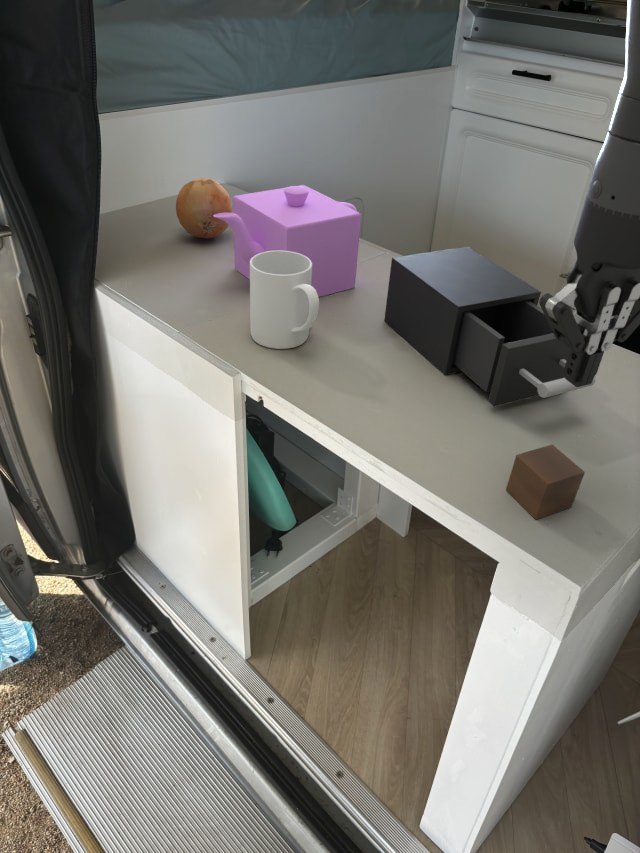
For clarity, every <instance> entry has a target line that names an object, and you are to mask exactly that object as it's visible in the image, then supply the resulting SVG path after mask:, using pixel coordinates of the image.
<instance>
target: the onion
mask: <svg viewBox="0 0 640 853" xmlns="http://www.w3.org/2000/svg"><path fill="white" fill-rule="evenodd" d="M175 213H176V216H177V219H178V222H179V224H180V225H181V227H182V228H183V229H184V230H185V231H186V232H187V233H188V234H190V235H191V236H194V237H196V238H197V239H213V238H216V237H218V236H220V235H221V234H222V233H224V232H225V231H226V230H227V229H228V228H229V227H230V226H229V224H227V223H226V222H225V221H223V220H221V219H219V218H216V217H214V216H213V215H215V214H218V213H233V201H232V199H231V196H230V194H229V193H228V191H227V190H226V189H225V188H224V187H223V186H222V185H221V184H220V183H218V182H217V181H216V180H214V179H212V178H207V177H200V178H197V179H194V180H191V181H189V182H187V183H185V184H184V185H183V186H182V187H181V188H180V190H179V192H178V194H177V196H176V200H175Z"/></svg>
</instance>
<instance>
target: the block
mask: <svg viewBox="0 0 640 853" xmlns="http://www.w3.org/2000/svg"><path fill="white" fill-rule="evenodd" d="M514 458H515V459H514V461H513V465H512V468H511V471H510V474H509V477H508V480H507V484H506V487H505V491H506V492H507V493H508V494H509V495H510V496H511V497H512V498H513V499H514V500H515V501H516V502H517V503H518V504H519V505H520V506H521V507H522V508H523V509H524V510H525V511H526V512H527V513H528V514H529V515H530V516H531V517H532V518H533V519H534V520H539V519H541V518H545V517H547V516H550V515H554V514H556V513H559V512H562V511H565V510H567V509H570V508H572V507H573V504H574V502H575V499H576V497H577V494H578V492H579V489H580V487H581V484H582V482H583V479H584V476H585V474H586V472H585V471H584V470H583V469H582V468H581V467H580V466H578V465H577V464H576V463H575V462H574V461H573V460H572V459H570V458H569V457H568V456H567V455H566V454H564V453H563V451H561V450H560V449H558V447H556V446H555V444H548V445H545V446H542V447H539V448H535V449H532V450H529V451H525V452H521V453H518V454H516V455H515V457H514Z"/></svg>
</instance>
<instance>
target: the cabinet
mask: <svg viewBox="0 0 640 853" xmlns="http://www.w3.org/2000/svg"><path fill="white" fill-rule="evenodd" d="M389 271H390V272H389V279H388V288H387V295H386V303H385V311H384V319H383V320H384V322H385V323H386V324H387V325H388V326H389V327H390V328H392V330H394V331H395V332H396V333H397V334H398V335H399V336H400V337H401V338H403V339H404V340H405V341H406V343H408V344H409V345H410V346H412V347H413V348H414V349H415V350H416V351H417V352H419V353H420V355H422V356H423V357H424V358H425V359H426V360H427V361H428V362H429V363H431V365H433V366H434V367H435V368H436V369H437V370H438V371H439V372H440V373H442V374H443V376H448V375H453V374H458V373H461V372H462V371H461V370H460V369H459V368H458V367H456V366H455V365H454V364H453V363H452V362H453V357H454V352H455V347H456V342H457V337H458V332H459V327H460V323H461V318H462V313H463V312H465V311H470V310H475V309H481V308H486V307H491V306H497V305H502V304H507V303H513V302H518V301H524V300H529V301H531V302H532V303H534V304H535V305H537V306H538V305H539V302H540V298H541V293H542V291H540V290H539V289H537V288H536V287H534V286H532V285H531V284H529V283H528V282H526V281H525V280H523V279H521V278H520V277H518V276H516V275H515V274H513V273H512V272H510V271H508V270H506V269H505V268H503V267H502V266H500V265H498V264H497V263H495V262H494V261H492V260H490V259H488V258H487V257H485V256H484V255H482V254H480V253H479V252H477V251H476V250H475V249H472V248H471V247H469V246H464V247H457V248H449V249H444V250H443V249H442V250H436V251H428V252H421V253H420V252H419V253H414V254H413V253H412V254H408V255H407V254H406V255H401V256H400V255H399V256H392V257H391V264H390V270H389ZM462 373H463V372H462Z"/></svg>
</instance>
